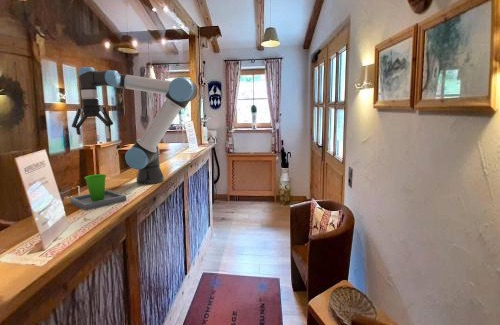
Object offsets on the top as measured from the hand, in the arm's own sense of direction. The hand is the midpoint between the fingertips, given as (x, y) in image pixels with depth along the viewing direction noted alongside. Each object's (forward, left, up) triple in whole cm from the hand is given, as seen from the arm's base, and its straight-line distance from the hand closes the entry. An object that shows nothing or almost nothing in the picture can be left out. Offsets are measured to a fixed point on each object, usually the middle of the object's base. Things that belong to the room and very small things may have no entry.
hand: (95, 139), depth 169 cm
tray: (+12, +26, -26) cm, 39 cm away
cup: (+12, +26, -26) cm, 38 cm away
